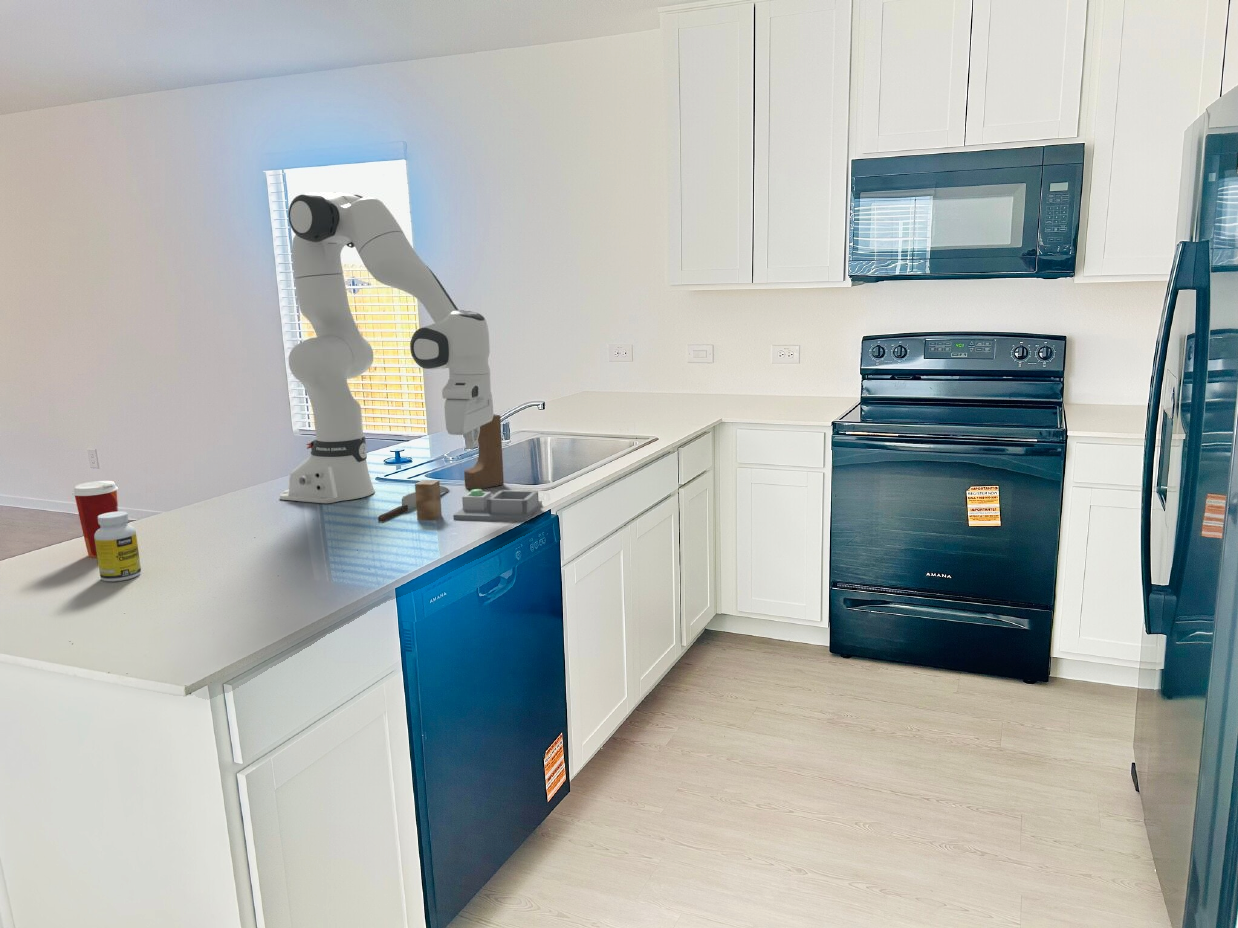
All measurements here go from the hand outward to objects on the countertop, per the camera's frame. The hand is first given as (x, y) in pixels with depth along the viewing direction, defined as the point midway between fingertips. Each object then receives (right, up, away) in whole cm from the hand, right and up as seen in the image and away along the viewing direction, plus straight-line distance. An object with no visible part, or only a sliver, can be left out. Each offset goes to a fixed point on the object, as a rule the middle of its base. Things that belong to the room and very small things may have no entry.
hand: (472, 448), depth 194 cm
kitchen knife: (-14, -14, +10) cm, 22 cm away
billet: (-9, -15, -1) cm, 18 cm away
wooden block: (-1, -9, +27) cm, 29 cm away
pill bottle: (-57, -24, -37) cm, 72 cm away
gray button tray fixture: (+6, -14, +2) cm, 16 cm away
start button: (+1, -12, +2) cm, 13 cm away
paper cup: (-68, -21, -22) cm, 75 cm away
